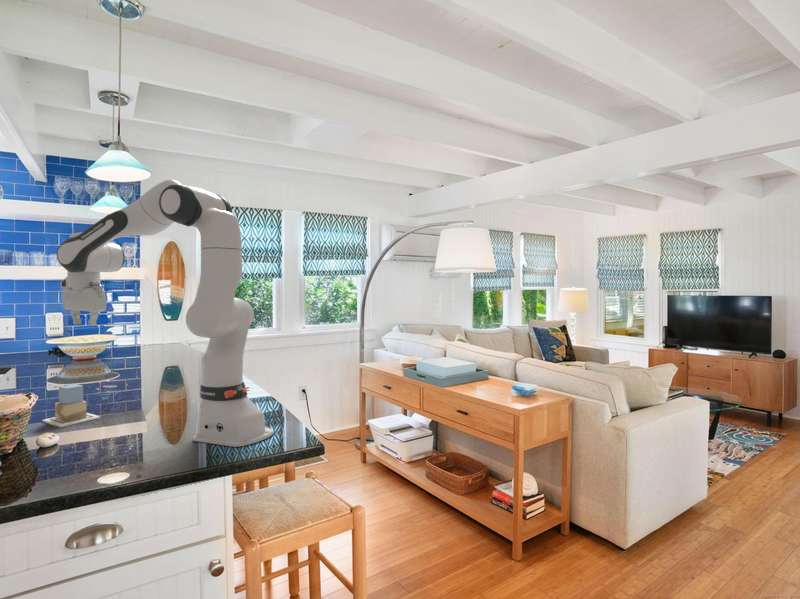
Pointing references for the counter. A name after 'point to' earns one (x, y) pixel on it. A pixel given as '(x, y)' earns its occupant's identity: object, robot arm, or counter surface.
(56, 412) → the oak block
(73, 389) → the blue cube
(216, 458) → the counter surface
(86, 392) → the counter surface
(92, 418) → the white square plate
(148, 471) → the counter surface
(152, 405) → the counter surface
